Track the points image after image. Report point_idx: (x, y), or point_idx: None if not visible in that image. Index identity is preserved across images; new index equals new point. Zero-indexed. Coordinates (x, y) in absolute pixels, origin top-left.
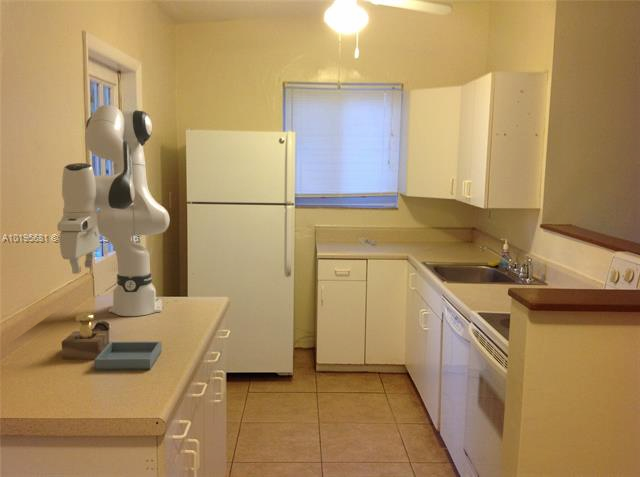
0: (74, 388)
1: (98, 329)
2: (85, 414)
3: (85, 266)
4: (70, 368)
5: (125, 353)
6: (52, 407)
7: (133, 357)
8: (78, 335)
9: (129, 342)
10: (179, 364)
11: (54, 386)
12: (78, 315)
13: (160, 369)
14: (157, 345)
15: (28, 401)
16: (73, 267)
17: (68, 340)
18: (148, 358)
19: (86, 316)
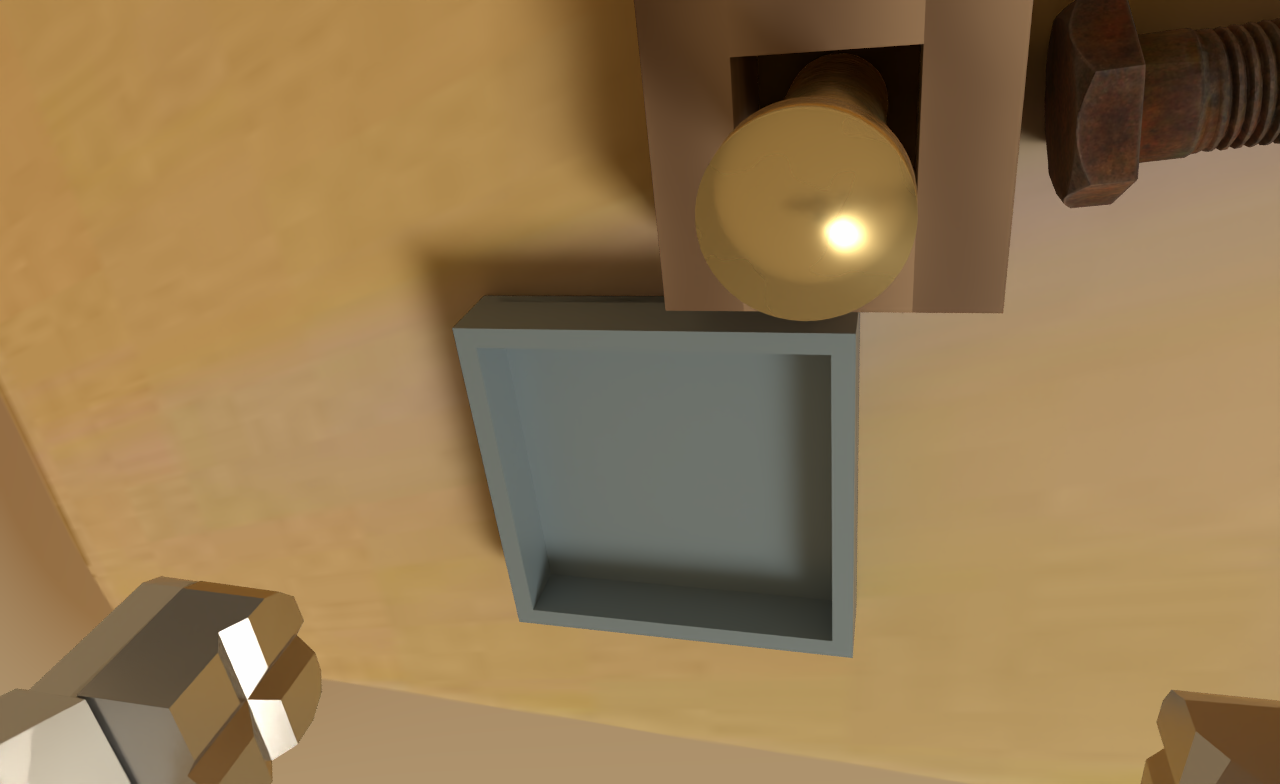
0: (225, 268)
1: (1100, 183)
2: (35, 406)
3: (1180, 712)
4: (488, 116)
5: (770, 422)
6: (19, 246)
7: (692, 483)
8: (871, 45)
9: (833, 473)
10: (637, 690)
11: (210, 143)
12: (799, 138)
13: None
14: (764, 641)
15: (12, 88)
16: (55, 713)
17: (680, 19)
18: (528, 613)
19: (753, 256)
